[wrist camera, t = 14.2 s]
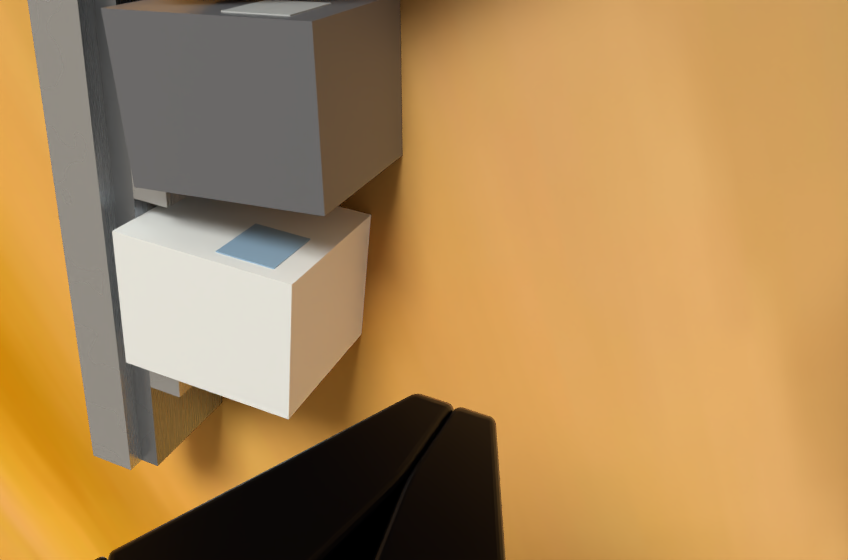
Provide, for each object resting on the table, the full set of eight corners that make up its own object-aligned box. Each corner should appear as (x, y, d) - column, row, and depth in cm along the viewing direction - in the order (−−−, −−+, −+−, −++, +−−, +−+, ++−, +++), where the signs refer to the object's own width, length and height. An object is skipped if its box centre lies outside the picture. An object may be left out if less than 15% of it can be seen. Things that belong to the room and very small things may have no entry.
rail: (241, -16, 19) (138, 5, 16) (247, 411, 26) (174, 487, 23) (143, -35, 20) (25, -18, 17) (173, 385, 27) (93, 455, 24)
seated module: (401, -9, 18) (312, 19, 14) (403, 155, 20) (324, 217, 16) (222, -17, 20) (100, 6, 16) (240, 135, 22) (134, 188, 18)
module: (372, 212, 21) (291, 283, 17) (362, 333, 23) (288, 420, 19) (217, 172, 22) (112, 229, 19) (221, 289, 24) (126, 363, 21)
